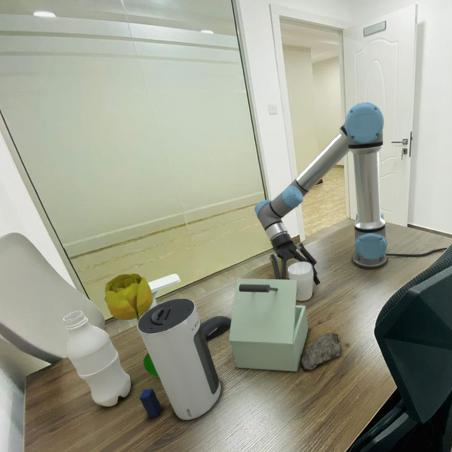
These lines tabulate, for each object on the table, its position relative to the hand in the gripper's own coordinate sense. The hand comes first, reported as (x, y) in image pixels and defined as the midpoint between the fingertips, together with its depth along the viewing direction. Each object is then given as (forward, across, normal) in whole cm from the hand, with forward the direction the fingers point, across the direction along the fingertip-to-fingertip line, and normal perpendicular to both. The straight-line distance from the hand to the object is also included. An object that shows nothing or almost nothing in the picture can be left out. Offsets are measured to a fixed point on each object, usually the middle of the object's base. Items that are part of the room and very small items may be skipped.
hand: (307, 290), depth 93 cm
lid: (+1, +21, +17) cm, 27 cm away
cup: (+1, 0, -5) cm, 5 cm away
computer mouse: (-1, +34, -7) cm, 35 cm away
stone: (+19, +11, +13) cm, 25 cm away
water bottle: (+1, +56, -5) cm, 56 cm away
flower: (+2, +46, -4) cm, 46 cm away
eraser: (+9, +49, +3) cm, 50 cm away
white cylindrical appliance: (+11, +41, +5) cm, 43 cm away
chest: (+11, +20, +5) cm, 23 cm away
